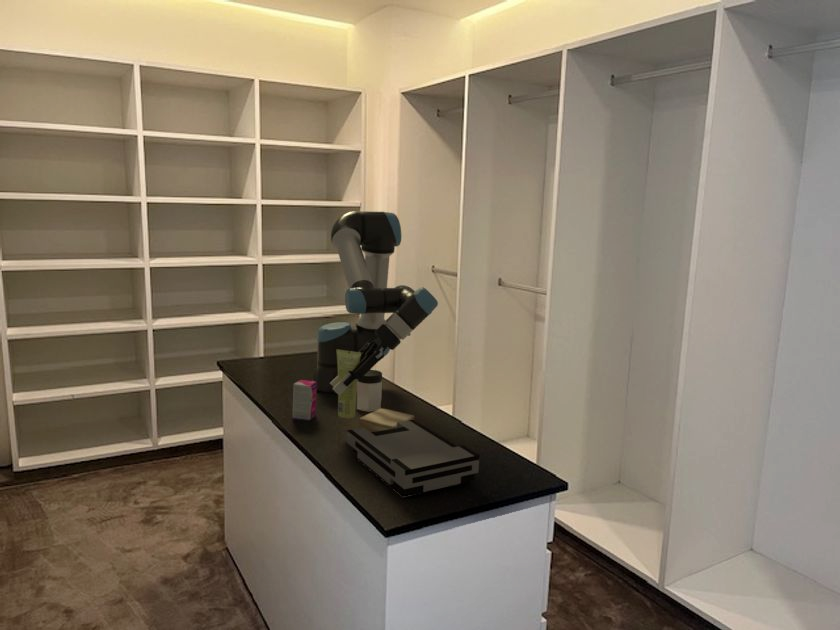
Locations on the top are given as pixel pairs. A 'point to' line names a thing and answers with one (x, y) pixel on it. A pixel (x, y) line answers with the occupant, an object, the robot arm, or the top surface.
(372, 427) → the oak block
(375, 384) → the jar
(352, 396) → the tube
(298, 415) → the supplement box
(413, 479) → the game console
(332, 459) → the top surface
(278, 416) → the top surface
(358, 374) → the robot arm
